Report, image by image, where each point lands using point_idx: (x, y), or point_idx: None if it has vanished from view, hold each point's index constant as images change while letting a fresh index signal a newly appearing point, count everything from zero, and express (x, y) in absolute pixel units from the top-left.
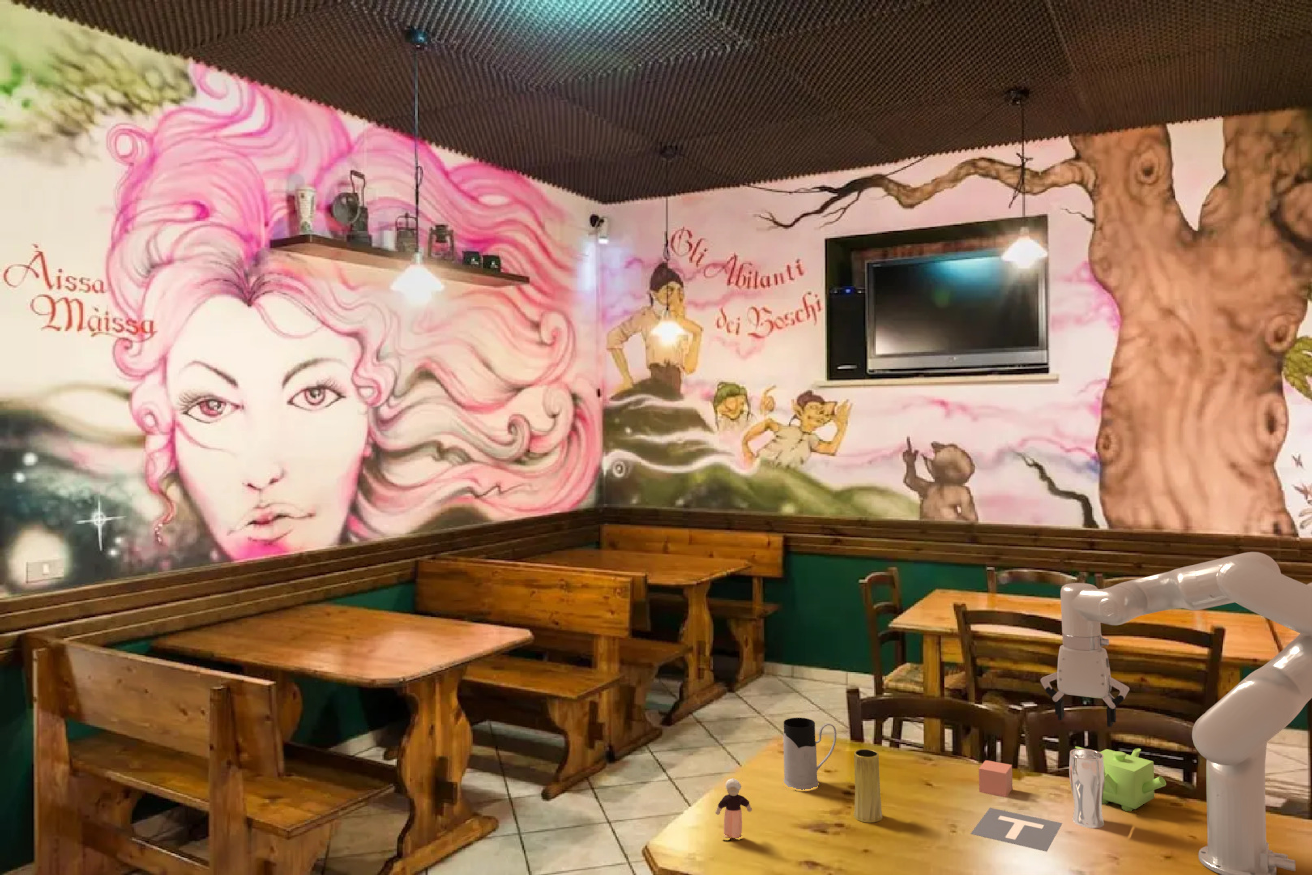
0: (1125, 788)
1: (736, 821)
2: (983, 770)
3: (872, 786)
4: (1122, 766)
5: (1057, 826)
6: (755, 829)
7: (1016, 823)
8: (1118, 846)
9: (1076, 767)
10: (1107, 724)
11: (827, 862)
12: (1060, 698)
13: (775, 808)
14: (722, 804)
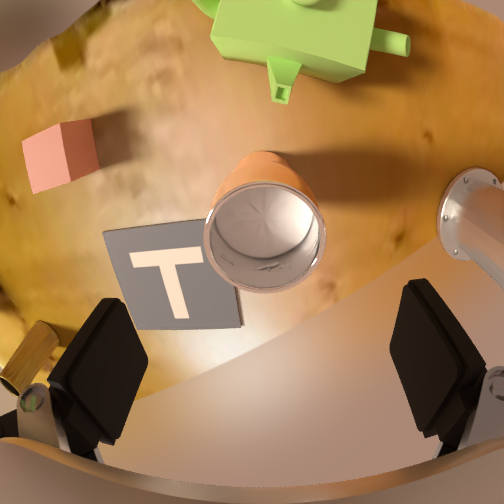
0: (324, 71)
1: None
2: (40, 190)
3: (38, 371)
4: (324, 43)
5: None
6: (36, 382)
7: (162, 267)
8: (330, 245)
9: (245, 272)
10: (393, 356)
11: None
12: (89, 442)
13: (10, 347)
14: None
